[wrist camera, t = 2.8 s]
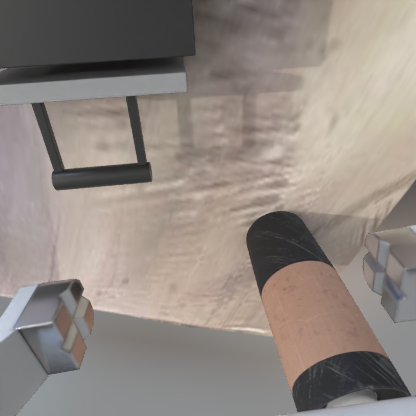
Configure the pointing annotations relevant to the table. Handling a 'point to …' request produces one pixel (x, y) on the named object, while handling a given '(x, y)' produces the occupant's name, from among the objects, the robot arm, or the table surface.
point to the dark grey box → (93, 31)
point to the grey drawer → (93, 89)
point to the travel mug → (316, 320)
